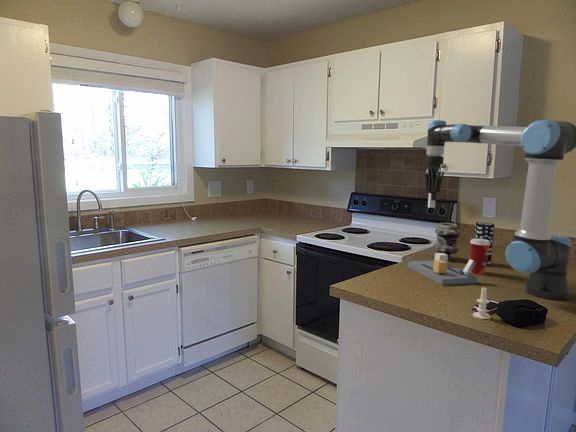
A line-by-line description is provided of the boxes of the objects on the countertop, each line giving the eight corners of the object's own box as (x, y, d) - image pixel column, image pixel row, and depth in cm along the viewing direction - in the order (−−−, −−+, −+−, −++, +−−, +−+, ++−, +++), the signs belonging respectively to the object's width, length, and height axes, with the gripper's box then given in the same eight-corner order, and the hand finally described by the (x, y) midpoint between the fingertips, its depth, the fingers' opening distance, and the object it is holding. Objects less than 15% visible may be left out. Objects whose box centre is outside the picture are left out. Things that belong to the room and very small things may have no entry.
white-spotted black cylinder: (473, 265, 200) (477, 224, 197) (470, 261, 208) (474, 221, 205) (492, 266, 198) (496, 225, 195) (488, 262, 206) (492, 222, 203)
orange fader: (446, 272, 175) (447, 262, 175) (438, 273, 174) (439, 262, 174) (441, 270, 179) (442, 260, 178) (432, 270, 178) (433, 260, 178)
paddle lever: (468, 276, 172) (476, 262, 172) (465, 275, 172) (474, 260, 172) (463, 274, 175) (471, 260, 175) (460, 272, 175) (469, 258, 175)
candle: (488, 314, 138) (491, 284, 137) (492, 320, 133) (494, 289, 132) (471, 312, 139) (474, 282, 138) (474, 318, 134) (477, 287, 133)
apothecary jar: (460, 262, 205) (463, 226, 202) (435, 261, 207) (437, 225, 204) (454, 256, 217) (457, 222, 214) (430, 255, 219) (433, 221, 216)
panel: (476, 283, 172) (477, 272, 171) (441, 285, 168) (442, 274, 168) (438, 265, 199) (438, 256, 198) (407, 266, 195) (408, 257, 195)
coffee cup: (489, 275, 183) (492, 242, 181) (469, 274, 185) (472, 241, 182) (484, 270, 191) (487, 238, 189) (465, 269, 193) (468, 237, 190)
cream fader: (447, 264, 188) (447, 255, 188) (439, 265, 188) (439, 255, 187) (442, 262, 192) (442, 252, 192) (434, 262, 191) (434, 253, 191)
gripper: (450, 155, 182) (446, 209, 186) (434, 155, 195) (430, 205, 198) (435, 155, 181) (431, 209, 184) (419, 155, 193) (416, 205, 197)
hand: (431, 207), depth 191 cm, fingers closed
